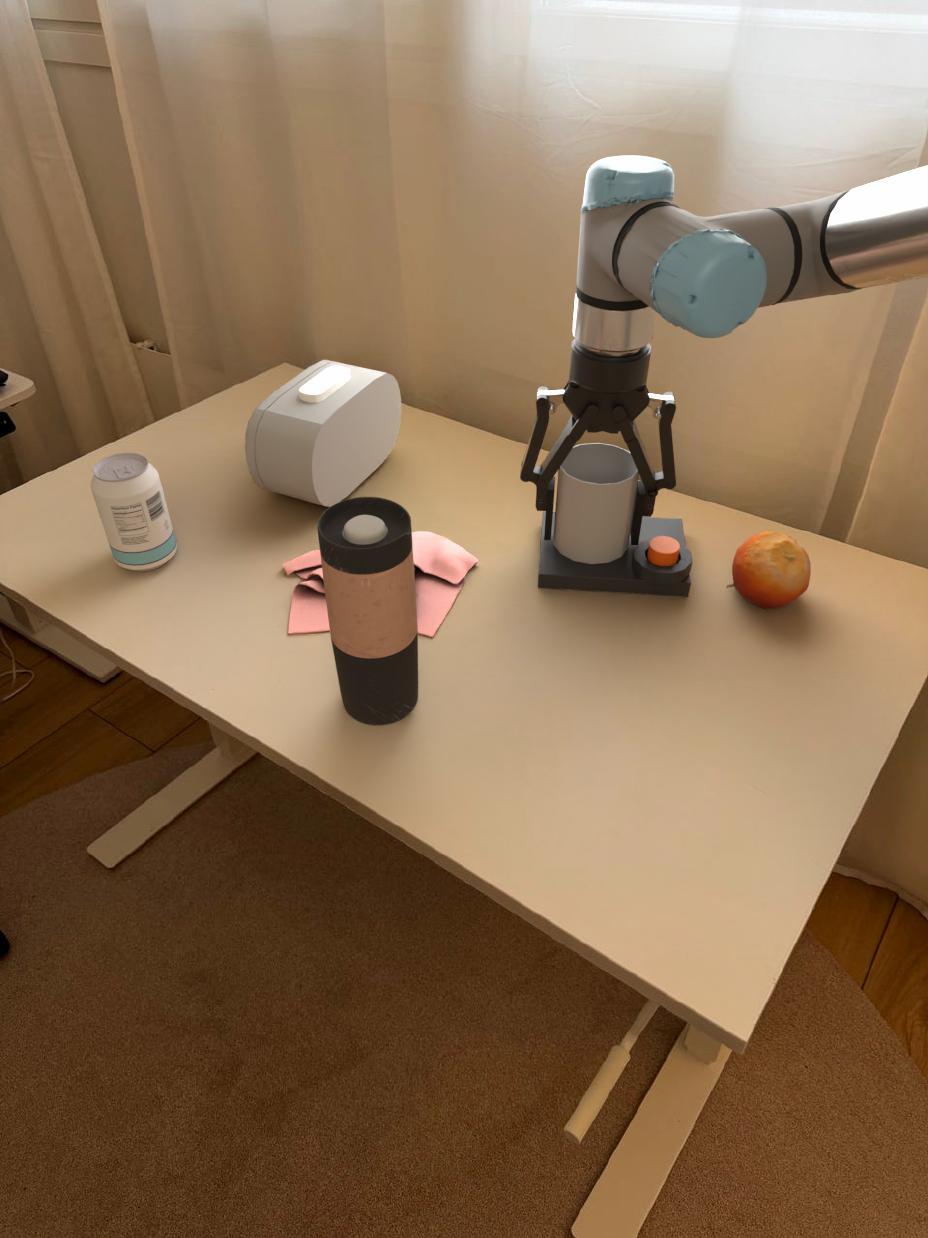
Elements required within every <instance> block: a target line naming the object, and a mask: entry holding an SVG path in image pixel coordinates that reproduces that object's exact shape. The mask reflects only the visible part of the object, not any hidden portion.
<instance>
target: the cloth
mask: <svg viewBox="0 0 928 1238" xmlns="http://www.w3.org/2000/svg"><path fill="white" fill-rule="evenodd" d="M412 545H413V561H414V577H415V592H416V608H417V624H418V635H422V636H426V637H428V638H429V637H430V638H434V637H435V635H436V634H437V632H438V630H439V628H440V627H441V625H442V624H443V622H444V620H445V618H446V617H447V615H448V613H449V612H450V611H451V609H452V607H453V605H454V603H455V602H456V599H457V597H458V595H459V593H460V592H461V590H462V588H463V586H464V584H465V577H466V575H467V574H468V572H469V570H471V569H472V567H474V565H477V563H478V562H480V560H479V559H478V558H476V557H475V556H474V555H472V554H471V553H469V552H468V551H467V550H466V549H465V548H464V547H462V546H460V544H457V543H455V542H453V541H452V540H450V539H449V538H447V537H445V536H442V535H439V534H437V533H434V532H432V531H429V530H427V531H426V530H419V531H413V532H412ZM282 566H283V568H284V571H285V572H286V575H287V576H290V575H291V574H295V576H298V577H300V578H301V579H303V580H306V581H302V582H301V581H300V582H298V583H297V584H296V585H295V586H294V588H293V591H292V597H291V603H290V604H291V605H290V613H289V621H288V630H287V631H288V632H287V634H288V635H292V634H305V633H306V634H309V633H321V632H330V628H329V620H328V611H327V603H326V595H325V587H324V579H323V571H322V563H321V555H320V548H319V549H315V550H310V551H308V552H306V553H303V554H301V555H300V556H298V557H296V558H293V559H291V560H288V561H286V562H283V563H282ZM315 576H319V577H316V578H315V579H311V580H309V579H310V578H313V577H315Z"/></svg>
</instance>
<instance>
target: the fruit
mask: <svg viewBox="0 0 928 1238" xmlns="http://www.w3.org/2000/svg"><path fill="white" fill-rule="evenodd" d="M811 565H812V564H811V560H810V556H809V554H808V552H807V550H806V549H805V548H804V547H803V546H801V545H800V544H799V543H798V541H797V539H795V538H793V537H792V536H789V535H786V534H783V533H779V532H776V531H773V530H765V531H762V532H759V533H755V534H753V535H751V536H750V537H749V538H747V539H746V540H745V541H744V542H742V544H741V545H740V546H739V547H737V549H736V551H735V554H734V557H733V560H732V565H731V568H732V569H731V574H732V575H731V576H732V583H730V584H727V585H726V589H728V588H733V587H734V589H735V590H736V592H737V593H739V595H741V597H742V598H743V599H745V600H746V601H748V602H749V603H752V604H754V605H755V606H758V607H759V608H761V609H762V610H773V609H777V608H781V607H783V606H786V605H788V604H790V603H793V602H794V601H795V600H797V599H798V598H800V597H801V596H802V595H803V594H804V593H805V592H807V590H808V588H809V586H810V581H811V574H812V573H811V572H812V569H811V568H812V566H811Z"/></svg>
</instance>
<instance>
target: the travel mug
mask: <svg viewBox="0 0 928 1238" xmlns="http://www.w3.org/2000/svg"><path fill="white" fill-rule="evenodd" d="M412 530H413V529H412V518H411V515H410V513H409V511H407V509H406V508H405V507H404V506H402V505H401V504H400V503H398V502H396V501H394V500H391V499H388V498H384V497H377V496H359V497H352V498H351V497H350V498H348V499H343V500H341V501H340V502H339V503H336V504H334V505H332V506H331V507H329V506H328V508H327V509H326V510H324V511H323V512H322V513H321V515H320V517H319V518H318V520H317V537H318V545H319V549H320V555H321V563H322V571H323V579H324V587H325V595H326V603H327V611H328V620H329V628H330V631H329V635H330V641H331V646H332V653H333V658H334V663H335V670H336V674H337V679H338V686H339V690H340V696H341V701H342V704H343V708H344V710H345V711H346V713H347V715H349V716H350V717H351V718H352V719H353V720H355V721H357V722H359V723H362V724H364V725H369V726H386V725H391V724H395V723H396V722H397V723H398V722H399V721H401V720H403V719H405V718H406V717H407V716H409V715H410V714H411V713H412V712H413V710H414V709H415V707H416V705H417V703H418V699H419V634H418V624H417V608H416V592H415V577H414V561H413V545H412V533H413V531H412Z"/></svg>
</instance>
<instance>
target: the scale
mask: <svg viewBox="0 0 928 1238" xmlns="http://www.w3.org/2000/svg"><path fill="white" fill-rule="evenodd" d="M545 518H546V511H542V519H541V532H540V533H541V534H540V549H539V561H538V562H539V563H538V575H537V576H538V577H537V588H538V589H550V590H551V589H552V590H566V591H567V590H568V591H569V590H570V591H585V592H603V593H616V594H618V593H619V594H632V595H633V594H634V595H649V596H663V597H665V596H667V597H668V596H669V597H682V598H688V597H689V596H690V595H689V594H690V590H691V585H692V580H691V572H692V571H691V570H692V566H693V557H692V552H691V551H690V550H689V549H688V548H687V546H686V545H687V544H686V539H685V531H684V524H683V519H682V518H670V517H669V518H668V517H652V516H651V517H646V516H642V523H641V530H640V536H639V543H638V545H631V534H630V538H629V546H628V549H627V550H626V552H625V553H624V554H623V555H622V557H620V558H618V559H615V560H613V561H611V562H609V563H599V564H588V563H582V562H577V561H573V560H571V559H569V558H567V557H566V556H564V555H562V554H560V552H559V551H558V550H557V549H556V547H555V546H554V545H553V537H554V522H555V511H553V518H552V532H551V540H544V533H545ZM658 536H667V537H671V538H673V539H675V540H676V541H678V543H679V544H680V550H679V555H678V560H677V562H676V563H675V564H674V565H672V566H658V565H656V564H653V563H651V562H650V561H649V560H648V558H647V554H648V548H649V542H650V540H651V539H653V538H654V537H658Z"/></svg>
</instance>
